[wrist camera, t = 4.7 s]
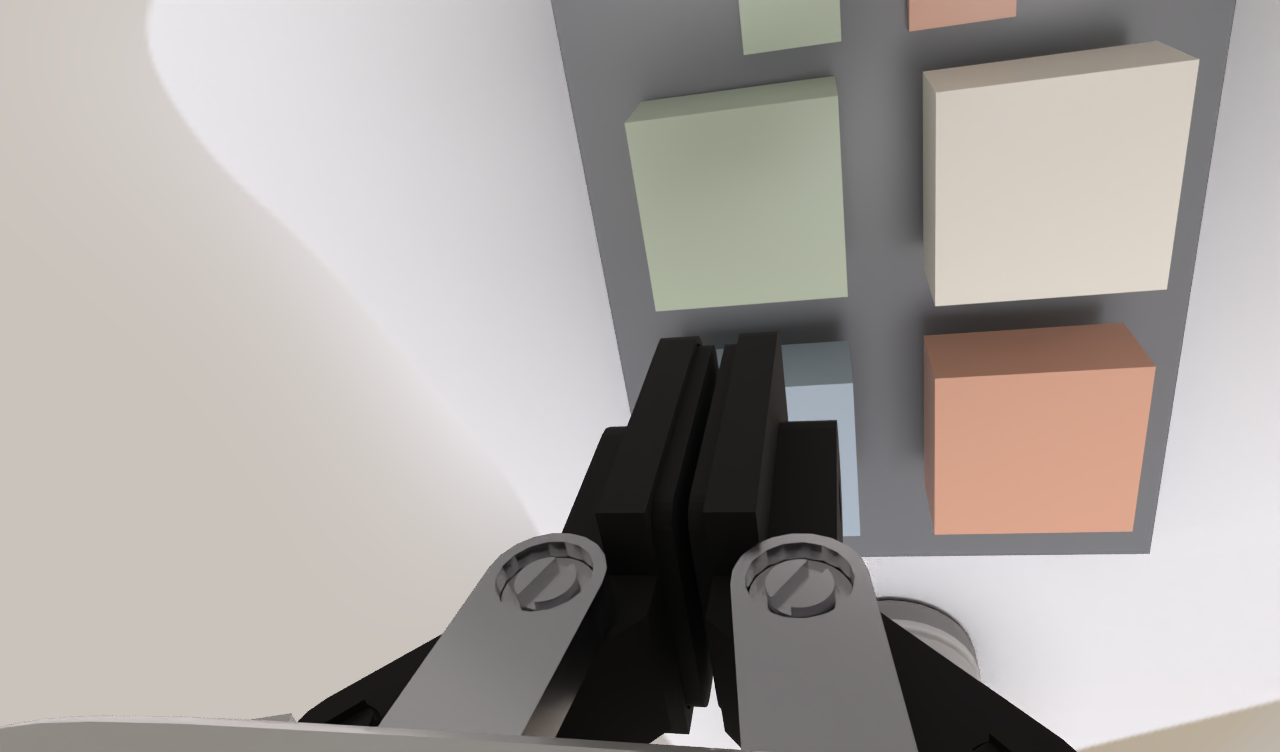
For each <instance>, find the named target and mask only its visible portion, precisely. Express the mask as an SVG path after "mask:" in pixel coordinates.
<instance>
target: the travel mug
mask: <svg viewBox="0 0 1280 752" xmlns="http://www.w3.org/2000/svg"><path fill="white" fill-rule="evenodd" d="M877 603H878V607H879V610H880V612H881V613H883V614H884V615H885V616H887V617H888V618H890V619H891V620H893V621H894V622H895V623H897V624H898V625H900V626H901V627H903V628H904V629H905V630H907V631H908V632H910V633H911V634H913V635H914V636H916V637H917V638H918V639H920V640H921V641H923V642H924V643H926V644H927V645H928V646H930V647H931V648H933V649H934V650H936V651H937V652H938V653H940V654H941V655H943V656H944V657H946V658H947V659H948V660H950V661H951V662H953V663H954V664H956V665H957V666H958V667H960V668H961V669H963V670H964V671H966V672H967V673H968V674H970V675H971V676H973V677H974V678H976V679H977V680H978V681H980V682H981V680H980V673H979V668H978V664H977V659H976V655H975V650H974V647H973V645H972V643H971V640H970V638H969V637H968V636H967V634H966V633H965V632H964V630H963V629H962V628H961V627H960V626H959V625H957V624H956V623H955V622H954V621H953V620H952V619H950V618H949V617H947V616H945V615H944V614H942V613H940V612H938V611H937V610H934V609H932V608H929V607H926V606H924V605H921V604H916V603H911V602H906V601H893V600H886V601H877Z"/></svg>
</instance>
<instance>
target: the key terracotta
mask: <svg viewBox="0 0 1280 752" xmlns="http://www.w3.org/2000/svg"><path fill="white" fill-rule="evenodd" d="M1155 370H1156V366H1155V365H1154V363H1153V362H1152V361H1151V359H1150V358H1149V356H1148V355H1147V354H1146V352H1145V351H1144V350H1143V348H1142V347H1141V345H1140V344H1139V343H1138V341H1137V340H1136V339H1135V337H1134V336H1133V335H1132V333H1131V332H1130V330H1129V329H1128V328H1127V326H1126V325H1125V324H1124V322H1123V323H1108V324H1093V325H1078V326H1063V327H1047V328H1032V329H1017V330H1002V331H987V332H971V333H956V334H941V335H926V336H924V485H925V490H926V495H927V500H928V505H929V510H930V515H931V520H932V525H933V530H934V535H948V534H1010V533H1072V532H1133V525H1134V518H1135V510H1136V503H1137V496H1138V489H1139V482H1140V475H1141V468H1142V461H1143V454H1144V447H1145V440H1146V433H1147V426H1148V419H1149V412H1150V405H1151V398H1152V391H1153V384H1154V377H1155Z"/></svg>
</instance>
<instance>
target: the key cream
mask: <svg viewBox="0 0 1280 752" xmlns="http://www.w3.org/2000/svg"><path fill="white" fill-rule="evenodd" d="M1199 60H1200V59H1198V58H1195V57H1193V56H1191V55H1189V54H1186V53H1184V52H1182V51H1179V50H1177V49H1175V48H1173V47H1170V46H1168V45H1166V44H1163V43H1161V42H1159V41H1151V42H1144V43H1136V44H1129V45H1121V46H1113V47H1106V48H1098V49H1091V50H1083V51H1076V52H1068V53H1060V54H1053V55H1045V56H1038V57H1030V58H1022V59H1015V60H1007V61H1000V62H992V63H984V64H977V65H969V66H962V67H954V68H946V69H939V70H931V71H924V72H923V268H924V272H925V275H926V278H927V281H928V285H929V288H930V291H931V294H932V298H933V301H934V304H935V306H947V305H960V304H974V303H988V302H1002V301H1015V300H1029V299H1043V298H1056V297H1070V296H1084V295H1097V294H1111V293H1125V292H1139V291H1152V290H1166V289H1167V285H1168V278H1169V271H1170V264H1171V257H1172V250H1173V243H1174V236H1175V229H1176V222H1177V215H1178V208H1179V201H1180V194H1181V187H1182V180H1183V173H1184V166H1185V158H1186V151H1187V144H1188V137H1189V130H1190V123H1191V116H1192V109H1193V102H1194V95H1195V88H1196V81H1197V74H1198V67H1199Z"/></svg>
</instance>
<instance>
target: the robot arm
mask: <svg viewBox="0 0 1280 752" xmlns="http://www.w3.org/2000/svg"><path fill="white" fill-rule="evenodd" d="M713 677H714V683H715V689H716V695H717V701H718V705H719V707H720V708H721V710H722V716H723V722H724V728H725V732H726V733H727V734H728V735H729V736H730V737H731V738H732V739H733V740H734V741H735V742H736V743H737V744H738V745H739V746H740V747H741V750H734V749H719V748H705V747H690V746H674V745H659V744H649V743H651V742H652V741H654V740H655V739H657V738H658V737H659V736H661V735H662V734H664V733H675V734H689V732H690V726H691V720H692V714H693V708H694V707H707V706H708V703H709V698H710V692H711V685H712V679H713ZM0 752H1076V751H1075V750H1074V749H1073V748H1072V747H1071V746H1070V745H1068V744H1067V743H1066V742H1065V741H1064V740H1063V739H1061V738H1060V737H1059V736H1057V735H1056V734H1054V733H1053V732H1051V731H1050V730H1049V729H1047V728H1046V727H1044V726H1043V725H1041V724H1040V723H1039V722H1037V721H1036V720H1034V719H1033V718H1031V717H1030V716H1029V715H1027V714H1026V713H1024V712H1023V711H1021V710H1020V709H1019V708H1017V707H1016V706H1014V705H1013V704H1011V703H1010V702H1008V701H1007V700H1006V699H1004V698H1003V697H1001V696H1000V695H998V694H997V693H996V692H994V691H993V690H991V689H990V688H988V687H987V686H986V685H984V684H983V683H981V682H980V681H978V680H977V679H976V678H974V677H973V676H971V675H970V674H968V673H967V672H966V671H964V670H963V669H961V668H960V667H958V666H957V665H956V664H954V663H953V662H951V661H950V660H948V659H947V658H946V657H944V656H943V655H941V654H940V653H938V652H937V651H936V650H934V649H933V648H931V647H930V646H928V645H927V644H926V643H924V642H923V641H921V640H920V639H918V638H917V637H916V636H914V635H913V634H911V633H910V632H908V631H907V630H905V629H904V628H903V627H901V626H900V625H898V624H897V623H895V622H894V621H893V620H891V619H890V618H888V617H887V616H885V615H884V614H883V613H881V612H880V610H879V607H878V603H877V599H876V596H875V592H874V588H873V585H872V581H871V577H870V574H869V571H868V569H867V567H866V565H865V563H864V561H863V559H862V558H861V557H860V556H859V555H858V554H857V553H856V552H855V551H853V550H852V549H851V548H850V547H849V546H847V545H845V544H843V518H842V491H841V471H840V454H839V438H838V424H837V420H817V421H788V412H787V401H786V391H785V380H784V369H783V358H782V347H781V339H780V334H779V331H778V332H760V333H743V334H739V337H738V342H737V344H725V346H724V350H723V354H722V359H721V363H720V367H719V366H718V359H717V353H716V348H715V346H714V345H706V346H703V345H702V341H701V338H700V337H699V336H690V337H672V338H661V339H660V340H659V342H658V345H657V348H656V350H655V353H654V356H653V358H652V361H651V364H650V367H649V369H648V372H647V375H646V377H645V380H644V383H643V385H642V388H641V391H640V393H639V396H638V399H637V401H636V404H635V407H634V409H633V412H632V415H631V418H630V420H629V423H628V426H623V427H608V428H606V429H605V431H604V433H603V434H602V437H601V439H600V441H599V444H598V446H597V449H596V451H595V454H594V456H593V458H592V461H591V463H590V466H589V468H588V471H587V473H586V475H585V478H584V480H583V483H582V485H581V488H580V490H579V492H578V495H577V497H576V500H575V502H574V505H573V507H572V509H571V512H570V514H569V517H568V519H567V522H566V524H565V526H564V529H563V531H562V533H551V534H547V535H542V536H537V537H533V538H531V539H528V540H526V541H523V542H521V543H519V544H516V545H515V546H513V547H512V548H510V549H509V550H507V551H506V552H504V553H503V554H501V555H500V556H499V557H498V558H497V559H496V560H495V562H494V563H493V564H492V565H491V566H490V567H489V568H488V570H487V571H486V573H485V574H484V575H483V577H482V578H481V580H480V581H479V583H478V584H477V586H476V587H475V588H474V590H473V591H472V593H471V594H470V595H469V597H468V598H467V600H466V601H465V603H464V604H463V606H462V607H461V608H460V610H459V611H458V613H457V614H456V616H455V617H454V618H453V620H452V621H451V623H450V624H449V626H448V627H447V628H446V630H445V631H444V633H443V634H441V635H439V636H438V637H436V638H434V639H432V640H431V641H429V642H427V643H425V644H423V645H422V646H420V647H418V648H416V649H415V650H413V651H411V652H409V653H407V654H405V655H404V656H402V657H400V658H398V659H397V660H395V661H393V662H391V663H389V664H388V665H386V666H384V667H382V668H380V669H379V670H377V671H375V672H373V673H372V674H370V675H368V676H366V677H364V678H362V679H361V680H359V681H357V682H355V683H354V684H352V685H350V686H348V687H347V688H345V689H343V690H341V691H339V692H337V693H336V694H334V695H332V696H330V697H329V698H327V699H325V700H324V701H323V702H321V703H320V704H318V705H317V706H315V707H314V708H312V709H311V710H309V711H308V712H307V713H306V714H305V715H304V716H303V717H302V718H301V719H300V720H299V721H298V722H296V721H295V719H294V718H293V716H292V714H285V715H278V716H271V717H265V718H258V719H252V720H243V719H220V718H200V717H169V716H168V717H167V716H99V715H98V716H79V717H63V718H49V719H41V720H35V721H30V722H24V723H17V724H11V725H5V726H0Z"/></svg>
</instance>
